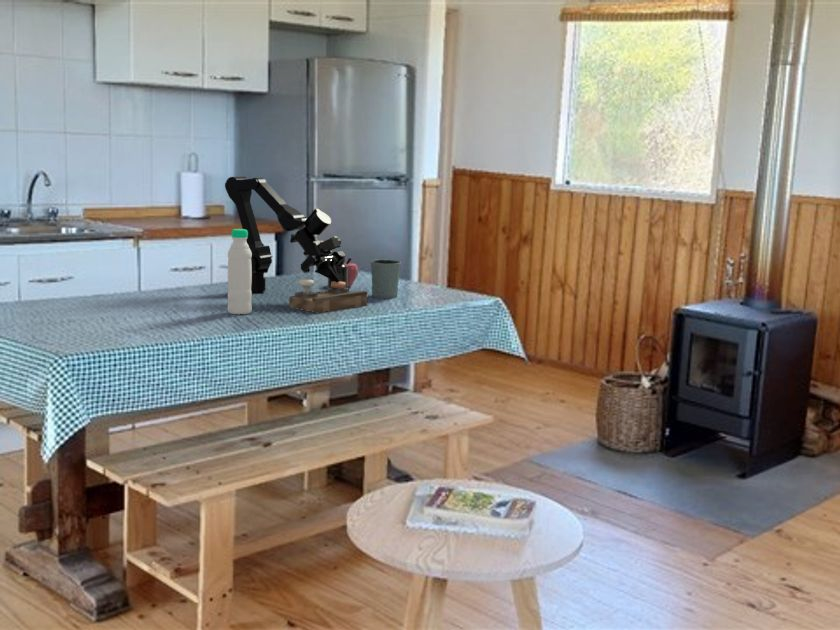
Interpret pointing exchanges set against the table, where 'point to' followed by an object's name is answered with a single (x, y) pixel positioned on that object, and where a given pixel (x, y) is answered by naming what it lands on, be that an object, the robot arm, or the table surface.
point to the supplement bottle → (341, 273)
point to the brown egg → (338, 284)
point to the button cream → (306, 285)
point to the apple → (351, 272)
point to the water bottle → (239, 274)
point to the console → (328, 300)
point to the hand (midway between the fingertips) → (338, 281)
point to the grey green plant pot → (385, 278)
